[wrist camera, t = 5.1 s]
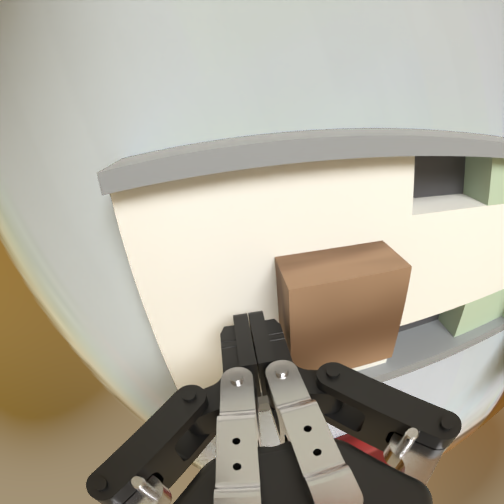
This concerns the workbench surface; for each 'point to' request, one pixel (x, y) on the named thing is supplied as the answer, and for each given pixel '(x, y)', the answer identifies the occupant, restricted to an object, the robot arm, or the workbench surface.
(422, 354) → the box
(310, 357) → the walnut block
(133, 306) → the workbench surface
